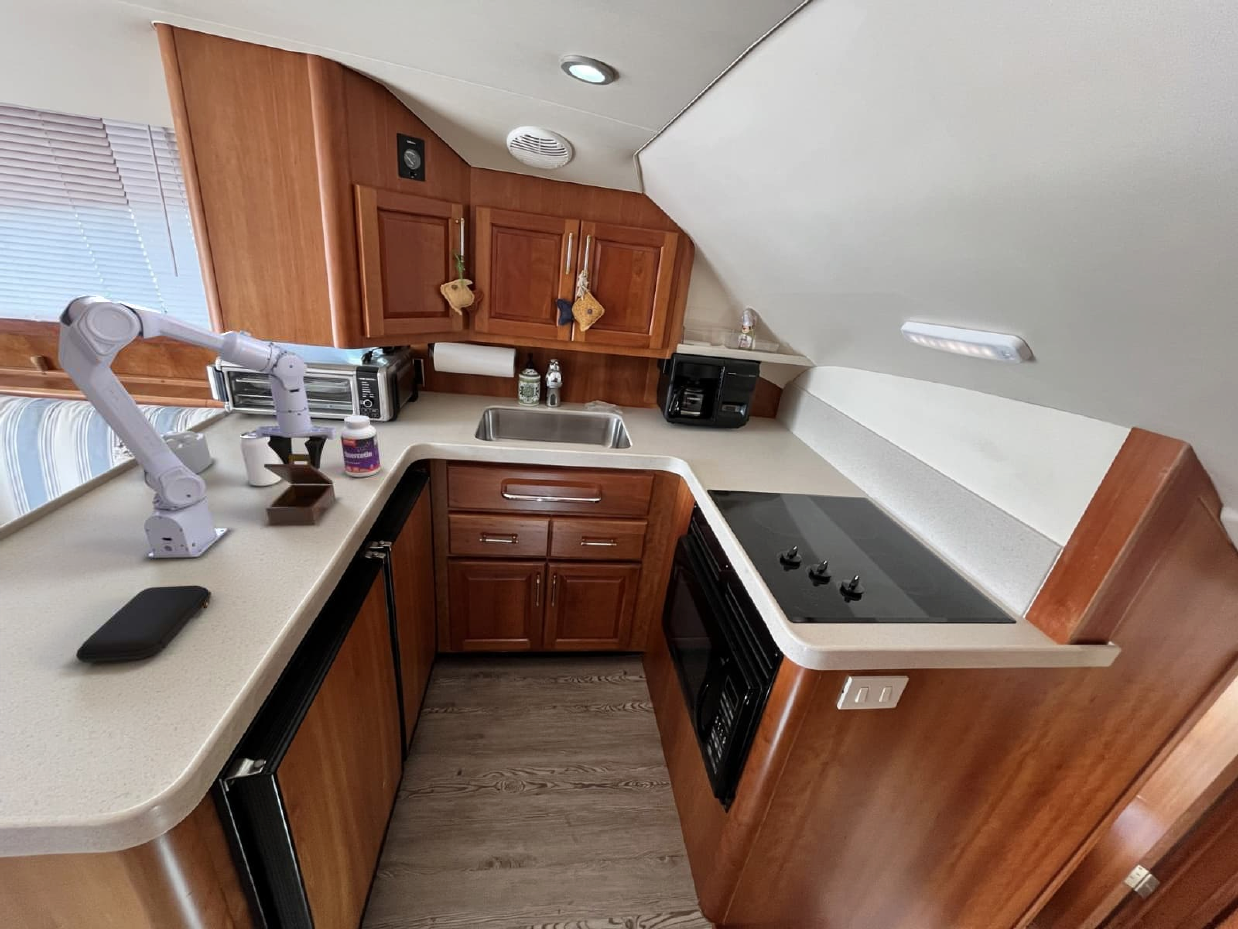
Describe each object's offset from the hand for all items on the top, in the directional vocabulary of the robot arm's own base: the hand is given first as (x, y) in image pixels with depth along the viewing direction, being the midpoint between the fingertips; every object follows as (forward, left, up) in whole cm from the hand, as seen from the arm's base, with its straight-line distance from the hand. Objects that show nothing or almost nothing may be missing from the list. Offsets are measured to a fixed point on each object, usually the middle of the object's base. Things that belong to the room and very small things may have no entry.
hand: (304, 469), depth 105 cm
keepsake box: (-3, 0, -9) cm, 9 cm away
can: (+12, +15, -9) cm, 21 cm away
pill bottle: (+18, -5, -9) cm, 21 cm away
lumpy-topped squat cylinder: (+18, +37, -9) cm, 42 cm away
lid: (-2, 0, -1) cm, 2 cm away
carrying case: (-39, +6, -9) cm, 40 cm away
